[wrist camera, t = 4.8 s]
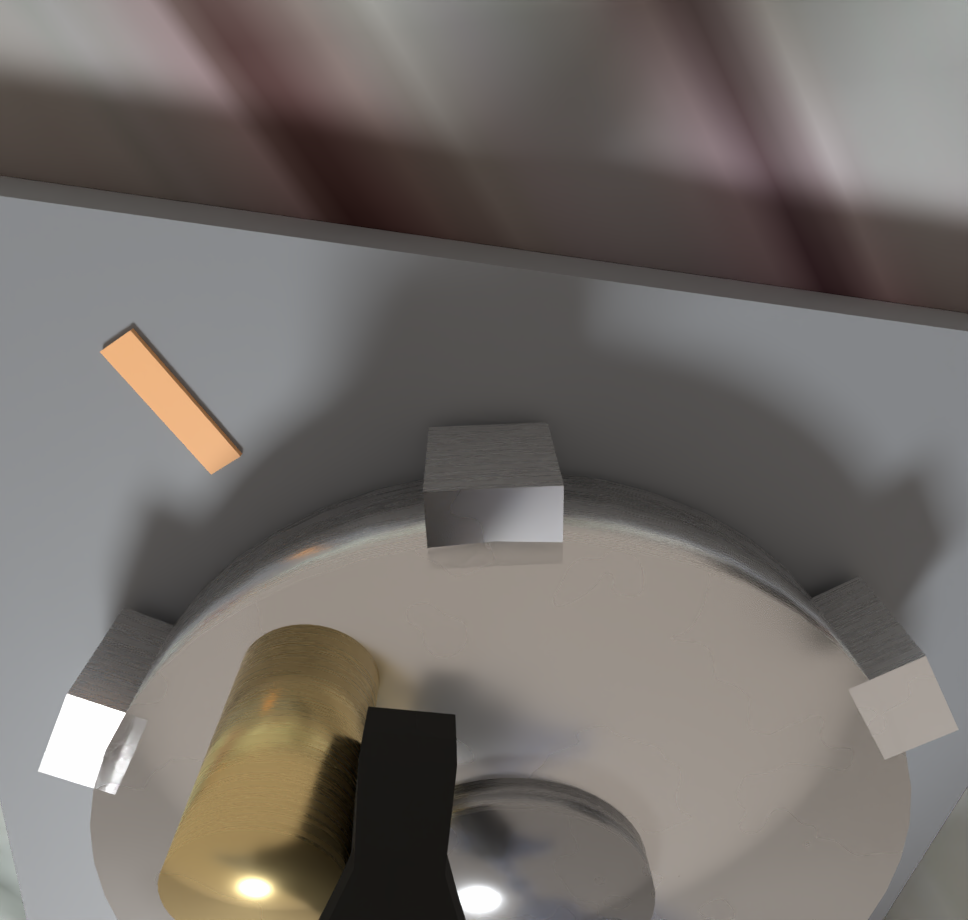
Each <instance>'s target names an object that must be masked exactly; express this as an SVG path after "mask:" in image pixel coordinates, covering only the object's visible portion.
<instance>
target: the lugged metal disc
mask: <svg viewBox="0 0 968 920" xmlns="http://www.w3.org/2000/svg"><path fill="white" fill-rule="evenodd" d="M368 706H369V707H380V708H391V709H402V710H413V711H424V712H435V713H446V714H455V717H456V738H457V772H456V781H455V790H454V799H453V808H452V817H451V826H450V834H449V843H448V852H447V855H448V859H449V863H450V866H451V870H452V874H453V878H454V881H455V885H456V889H457V892H458V895H459V899H460V902H461V905H462V909H463V912H464V915H465V918H466V920H868V918H869V917H870V915H871V914H872V912H873V911H874V909H875V908H876V906H877V905H878V903H879V902H880V900H881V899H882V897H883V895H884V894H885V892H886V891H887V889H888V886H889V884H890V882H891V880H892V877H893V875H894V873H895V871H896V868H897V866H898V864H899V862H900V860H901V856H902V852H903V848H904V844H905V840H906V836H907V832H908V828H909V824H910V806H911V783H910V776H909V770H908V763H907V757H906V751H908V750H910V749H913V748H915V747H918V746H920V745H923V744H925V743H927V742H930V741H932V740H935V739H937V738H940V737H942V736H945V735H947V734H950V733H952V732H955V731H957V730H959V729H958V727H957V725H956V723H955V720H954V718H953V716H952V714H951V711H950V709H949V707H948V705H947V702H946V700H945V698H944V696H943V693H942V691H941V689H940V687H939V684H938V682H937V680H936V678H935V675H934V673H933V671H932V669H931V666H930V664H929V662H928V660H927V657H926V655H925V654H924V653H923V652H922V651H921V649H920V648H919V647H918V646H917V645H916V643H915V642H914V641H913V640H912V639H911V637H910V636H909V635H908V634H907V632H906V631H905V630H904V629H903V628H902V626H901V625H900V624H899V623H898V622H897V620H896V619H895V618H894V617H893V616H892V614H891V613H890V612H889V611H888V610H887V608H886V607H885V606H884V605H883V603H882V602H881V601H880V600H879V599H878V597H877V596H876V595H875V594H874V593H873V591H872V590H871V589H870V588H869V587H868V585H867V584H866V583H865V582H864V581H863V579H862V578H861V577H860V576H858V577H856V578H854V579H851V580H849V581H847V582H845V583H843V584H841V585H839V586H836V587H834V588H832V589H830V590H828V591H826V592H824V593H821V594H819V595H817V596H815V597H813V598H812V597H811V596H810V595H809V593H808V592H807V591H806V590H805V589H804V588H803V587H802V586H801V585H800V584H799V582H798V581H797V580H796V579H795V578H794V577H793V576H792V575H791V574H790V573H789V571H788V570H787V569H786V568H785V567H784V566H783V565H782V564H780V563H779V562H778V561H777V560H775V559H774V558H773V557H772V556H770V555H769V554H768V553H766V552H765V551H764V550H763V549H761V548H760V547H759V546H758V545H756V544H755V543H754V542H753V541H751V540H750V539H749V538H747V537H746V536H744V535H742V534H740V533H739V532H737V531H735V530H734V529H732V528H730V527H728V526H727V525H725V524H723V523H721V522H720V521H718V520H716V519H714V518H713V517H711V516H709V515H707V514H706V513H703V512H701V511H698V510H696V509H693V508H691V507H688V506H686V505H683V504H681V503H679V502H676V501H674V500H671V499H669V498H666V497H664V496H661V495H659V494H656V493H652V492H648V491H644V490H640V489H637V488H633V487H629V486H625V485H621V484H618V483H614V482H610V481H606V480H600V479H593V478H586V477H578V476H571V475H564V474H561V472H560V468H559V465H558V461H557V457H556V453H555V449H554V446H553V442H552V438H551V434H550V430H549V426H548V423H547V422H545V423H520V424H495V425H471V426H446V427H429V433H428V443H427V453H426V464H425V474H424V479H421V480H417V481H412V482H407V483H403V484H398V485H394V486H389V487H385V488H380V489H376V490H373V491H370V492H367V493H364V494H361V495H358V496H356V497H353V498H350V499H347V500H344V501H341V502H338V503H336V504H333V505H330V506H327V507H324V508H322V509H320V510H318V511H316V512H314V513H312V514H310V515H308V516H306V517H304V518H302V519H300V520H298V521H296V522H294V523H292V524H290V525H288V526H286V527H284V528H282V529H280V530H278V531H276V532H274V533H273V534H271V535H270V536H268V537H267V538H266V539H264V540H263V541H261V542H260V543H258V544H257V545H255V546H254V547H252V548H251V549H249V550H248V551H246V552H245V553H243V554H242V555H241V556H239V557H238V558H236V559H235V560H234V561H232V562H231V563H230V564H229V565H228V566H227V567H226V568H225V569H224V570H223V571H222V572H221V573H219V574H218V575H217V576H216V577H215V578H214V579H213V580H212V581H211V582H210V583H209V584H207V585H206V586H205V587H204V588H203V589H202V590H201V591H200V592H199V593H198V595H197V596H196V597H195V598H194V600H193V601H192V602H191V603H190V605H189V606H188V607H187V609H186V610H185V611H184V612H183V614H182V615H181V616H180V617H179V619H178V620H177V621H176V622H175V624H174V625H171V624H169V623H166V622H163V621H160V620H158V619H155V618H152V617H149V616H147V615H144V614H141V613H138V612H136V611H133V610H130V609H127V608H125V607H124V608H123V609H122V611H121V612H120V614H119V616H118V617H117V619H116V620H115V622H114V623H113V625H112V626H111V628H110V629H109V631H108V632H107V634H106V635H105V637H104V638H103V640H102V641H101V643H100V644H99V646H98V647H97V649H96V650H95V652H94V653H93V655H92V656H91V658H90V660H89V661H88V663H87V664H86V666H85V667H84V669H83V670H82V672H81V673H80V675H79V676H78V678H77V679H76V681H75V682H74V684H73V685H72V687H71V688H70V690H69V691H68V693H67V695H66V698H65V700H64V703H63V706H62V708H61V711H60V714H59V716H58V719H57V722H56V724H55V727H54V730H53V732H52V735H51V738H50V740H49V743H48V746H47V748H46V751H45V754H44V756H43V759H42V762H41V764H40V767H39V770H38V771H39V772H42V773H45V774H48V775H52V776H55V777H58V778H62V779H65V780H68V781H72V782H75V783H78V784H81V785H85V786H88V787H91V788H93V798H92V808H91V819H90V832H91V841H92V850H93V859H94V864H95V867H96V870H97V873H98V876H99V880H100V883H101V886H102V889H103V892H104V895H105V897H106V899H107V901H108V903H109V905H110V907H111V908H112V910H113V912H114V914H115V916H116V918H117V920H319V918H320V916H321V914H322V912H323V910H324V908H325V906H326V904H327V902H328V900H329V898H330V896H331V894H332V892H333V890H334V888H335V886H336V884H337V882H338V880H339V878H340V876H341V874H342V872H343V870H344V868H345V866H346V863H347V861H348V859H349V857H350V854H351V842H352V826H353V811H354V801H355V791H356V781H357V770H358V760H359V753H360V747H361V742H362V736H363V731H364V726H365V720H366V715H367V710H368Z"/></svg>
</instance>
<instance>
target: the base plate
mask: <svg viewBox="0 0 968 920" xmlns="http://www.w3.org/2000/svg"><path fill="white" fill-rule="evenodd" d="M545 422H547V423H548V426H549V430H550V434H551V438H552V442H553V446H554V449H555V453H556V457H557V461H558V465H559V468H560V472H561V474H564V475H571V476H578V477H586V478H593V479H600V480H606V481H610V482H614V483H618V484H621V485H625V486H629V487H633V488H637V489H640V490H644V491H648V492H652V493H656V494H659V495H661V496H664V497H666V498H669V499H671V500H674V501H676V502H679V503H681V504H683V505H686V506H688V507H691V508H693V509H696V510H698V511H701V512H703V513H706V514H707V515H709V516H711V517H713V518H714V519H716V520H718V521H720V522H721V523H723V524H725V525H727V526H728V527H730V528H732V529H734V530H735V531H737V532H739V533H740V534H742V535H744V536H746V537H747V538H749V539H750V540H751V541H753V542H754V543H755V544H756V545H758V546H759V547H760V548H761V549H763V550H764V551H765V552H766V553H768V554H769V555H770V556H772V557H773V558H774V559H775V560H777V561H778V562H779V563H780V564H782V565H783V566H784V567H785V568H786V569H787V570H788V571H789V573H790V574H791V575H792V576H793V577H794V578H795V579H796V580H797V581H798V582H799V584H800V585H801V586H802V587H803V588H804V589H805V590H806V591H807V592H808V593H809V595H810V596H811V597H812V598H813V597H815V596H817V595H819V594H821V593H824V592H826V591H828V590H830V589H832V588H834V587H836V586H839V585H841V584H843V583H845V582H847V581H849V580H851V579H854V578H856V577H858V576H860V577H861V578H862V579H863V581H864V582H865V583H866V584H867V585H868V587H869V588H870V589H871V590H872V591H873V593H874V594H875V595H876V596H877V597H878V599H879V600H880V601H881V602H882V603H883V605H884V606H885V607H886V608H887V610H888V611H889V612H890V613H891V614H892V616H893V617H894V618H895V619H896V620H897V622H898V623H899V624H900V625H901V626H902V628H903V629H904V630H905V631H906V632H907V634H908V635H909V636H910V637H911V639H912V640H913V641H914V642H915V643H916V645H917V646H918V647H919V648H920V649H921V651H922V652H923V653H924V654H925V655H926V657H927V660H928V662H929V664H930V666H931V669H932V671H933V673H934V675H935V678H936V680H937V682H938V684H939V687H940V689H941V691H942V693H943V696H944V698H945V700H946V702H947V705H948V707H949V709H950V711H951V714H952V716H953V718H954V720H955V723H956V725H957V727H958V729H959V730H957V731H955V732H952V733H950V734H947V735H945V736H942V737H940V738H937V739H935V740H932V741H930V742H927V743H925V744H923V745H920V746H918V747H915V748H913V749H910V750H908V751H906V757H907V763H908V770H909V776H910V783H911V806H910V824H909V828H908V832H907V836H906V840H905V844H904V848H903V852H902V856H901V860H900V862H899V864H898V866H897V868H896V871H895V873H894V875H893V877H892V880H891V882H890V884H889V886H888V889H887V891H886V892H885V894H884V895H883V897H882V899H881V900H880V902H879V903H878V905H877V906H876V908H875V909H874V911H873V912H872V914H871V915H870V917H869V918H868V920H883V919H884V918H885V916H886V915H887V913H888V911H889V910H890V908H891V907H892V905H893V903H894V902H895V900H896V899H897V897H898V896H899V894H900V892H901V891H902V889H903V888H904V886H905V884H906V883H907V881H908V880H909V878H910V877H911V875H912V873H913V872H914V870H915V869H916V867H917V866H918V864H919V862H920V861H921V859H922V858H923V856H924V854H925V853H926V851H927V850H928V848H929V847H930V845H931V843H932V842H933V840H934V839H935V837H936V836H937V834H938V832H939V831H940V829H941V828H942V826H943V824H944V823H945V821H946V820H947V818H948V817H949V815H950V813H951V812H952V810H953V809H954V807H955V806H956V804H957V802H958V801H959V799H960V798H961V796H962V794H963V793H964V791H965V790H966V788H967V787H968V313H961V312H954V311H947V310H940V309H933V308H926V307H919V306H912V305H905V304H898V303H891V302H884V301H877V300H870V299H863V298H856V297H849V296H842V295H835V294H828V293H821V292H814V291H807V290H800V289H793V288H786V287H779V286H772V285H765V284H758V283H751V282H744V281H737V280H730V279H723V278H715V277H708V276H701V275H694V274H687V273H680V272H673V271H666V270H659V269H652V268H645V267H638V266H631V265H624V264H617V263H610V262H603V261H596V260H589V259H582V258H575V257H568V256H561V255H554V254H547V253H540V252H533V251H526V250H519V249H512V248H505V247H498V246H491V245H484V244H477V243H470V242H463V241H456V240H449V239H441V238H434V237H427V236H420V235H413V234H406V233H399V232H392V231H385V230H378V229H371V228H364V227H357V226H350V225H343V224H336V223H329V222H322V221H315V220H308V219H301V218H294V217H287V216H280V215H273V214H266V213H259V212H252V211H245V210H238V209H231V208H224V207H217V206H210V205H203V204H196V203H189V202H182V201H175V200H167V199H160V198H153V197H146V196H139V195H132V194H125V193H118V192H111V191H104V190H97V189H90V188H83V187H76V186H69V185H62V184H55V183H48V182H41V181H34V180H27V179H20V178H13V177H6V176H0V802H1V806H2V811H3V815H4V820H5V824H6V829H7V833H8V838H9V842H10V847H11V851H12V856H13V860H14V865H15V869H16V874H17V878H18V883H19V887H20V892H21V896H22V901H23V905H24V909H25V914H26V918H27V920H117V918H116V916H115V914H114V912H113V910H112V908H111V907H110V905H109V903H108V901H107V899H106V897H105V895H104V892H103V889H102V886H101V883H100V880H99V876H98V873H97V870H96V867H95V864H94V859H93V850H92V841H91V832H90V819H91V808H92V798H93V788H91V787H88V786H85V785H81V784H78V783H75V782H72V781H68V780H65V779H62V778H58V777H55V776H52V775H48V774H45V773H42V772H39V771H38V770H39V767H40V764H41V762H42V759H43V756H44V754H45V751H46V748H47V746H48V743H49V740H50V738H51V735H52V732H53V730H54V727H55V724H56V722H57V719H58V716H59V714H60V711H61V708H62V706H63V703H64V700H65V698H66V695H67V693H68V691H69V690H70V688H71V687H72V685H73V684H74V682H75V681H76V679H77V678H78V676H79V675H80V673H81V672H82V670H83V669H84V667H85V666H86V664H87V663H88V661H89V660H90V658H91V656H92V655H93V653H94V652H95V650H96V649H97V647H98V646H99V644H100V643H101V641H102V640H103V638H104V637H105V635H106V634H107V632H108V631H109V629H110V628H111V626H112V625H113V623H114V622H115V620H116V619H117V617H118V616H119V614H120V612H121V611H122V609H123V608H124V607H125V608H127V609H130V610H133V611H136V612H138V613H141V614H144V615H147V616H149V617H152V618H155V619H158V620H160V621H163V622H166V623H169V624H171V625H174V624H175V622H176V621H177V620H178V619H179V617H180V616H181V615H182V614H183V612H184V611H185V610H186V609H187V607H188V606H189V605H190V603H191V602H192V601H193V600H194V598H195V597H196V596H197V595H198V593H199V592H200V591H201V590H202V589H203V588H204V587H205V586H206V585H207V584H209V583H210V582H211V581H212V580H213V579H214V578H215V577H216V576H217V575H218V574H219V573H221V572H222V571H223V570H224V569H225V568H226V567H227V566H228V565H229V564H230V563H231V562H232V561H234V560H235V559H236V558H238V557H239V556H241V555H242V554H243V553H245V552H246V551H248V550H249V549H251V548H252V547H254V546H255V545H257V544H258V543H260V542H261V541H263V540H264V539H266V538H267V537H268V536H270V535H271V534H273V533H274V532H276V531H278V530H280V529H282V528H284V527H286V526H288V525H290V524H292V523H294V522H296V521H298V520H300V519H302V518H304V517H306V516H308V515H310V514H312V513H314V512H316V511H318V510H320V509H322V508H324V507H327V506H330V505H333V504H336V503H338V502H341V501H344V500H347V499H350V498H353V497H356V496H358V495H361V494H364V493H367V492H370V491H373V490H376V489H380V488H385V487H389V486H394V485H398V484H403V483H407V482H412V481H417V480H421V479H424V474H425V464H426V453H427V443H428V433H429V427H446V426H471V425H495V424H520V423H545Z"/></svg>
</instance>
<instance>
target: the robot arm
mask: <svg viewBox="0 0 968 920" xmlns="http://www.w3.org/2000/svg"><path fill="white" fill-rule="evenodd" d="M456 772H457V738H456V717H455V714H446V713H435V712H424V711H413V710H402V709H391V708H380V707H369V706H368V710H367V715H366V720H365V726H364V731H363V736H362V742H361V747H360V753H359V760H358V770H357V781H356V791H355V801H354V811H353V826H352V842H351V854H350V857H349V859H348V861H347V863H346V866H345V868H344V870H343V872H342V874H341V876H340V878H339V880H338V882H337V884H336V886H335V888H334V890H333V892H332V894H331V896H330V898H329V900H328V902H327V904H326V906H325V908H324V910H323V912H322V914H321V916H320V918H319V920H466V918H465V915H464V912H463V909H462V905H461V902H460V899H459V895H458V892H457V889H456V885H455V881H454V878H453V874H452V870H451V866H450V863H449V859H448V855H447V852H448V843H449V834H450V826H451V817H452V808H453V799H454V790H455V781H456Z"/></svg>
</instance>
